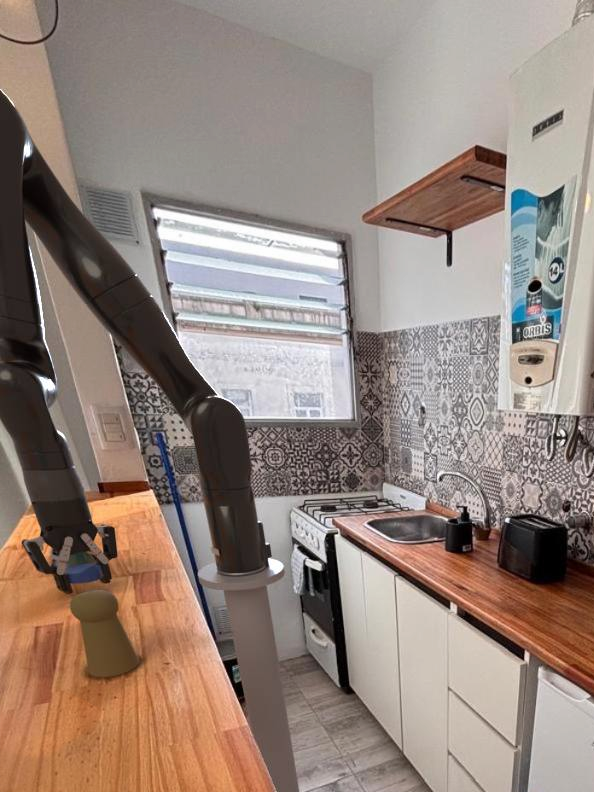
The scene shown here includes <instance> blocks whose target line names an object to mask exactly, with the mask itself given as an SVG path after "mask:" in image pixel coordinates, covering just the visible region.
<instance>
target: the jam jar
mask: <svg viewBox="0 0 594 792" xmlns="http://www.w3.org/2000/svg"><path fill="white" fill-rule="evenodd" d="M84 563H97V562H96V561H95V560H94V559H93V558H92V557H91V556H90V555H89V554H88V553H87V552H78V553H76V554H74V555H69V561H68V562H67V563H66V567H69V566H72V565H77V564H84Z"/></svg>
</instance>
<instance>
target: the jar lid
mask: <svg viewBox="0 0 594 792" xmlns="http://www.w3.org/2000/svg"><path fill="white" fill-rule="evenodd" d="M65 574H67V575H68V578H69V581H70V584H75V585H76V584H86V583H91V582H95V581H98V580H100V578H102V577H103V576H104V573H103V570H102V568H101V565H99V564H95V563H84V564H77V565H72V566H69V567H66V568H65Z"/></svg>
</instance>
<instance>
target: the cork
mask: <svg viewBox="0 0 594 792" xmlns="http://www.w3.org/2000/svg"><path fill="white" fill-rule="evenodd" d="M119 605H120V603H119V600H118V598H117V597H116V596H115V595H114V593H112V592H111V591H108V590H104V589H95V590H88V591H84V592H81V593H78V594H76V595H74V596H73V597H72V598H71V600H70V602H69V609H70V612H71V614H72V615H73V617H74V618H75V619H77V620H78V621H79V622H80V628H81V629H80V630H81V634H82V640H83V648H84V653H85V659H86V665H87V671H88V674H89V675H90V676H92V677H94V678H110V677H114V676H115V677H116V676H120V675H122V674H126V673H128V672H130V671H133V670H135V668H136V667H138V666H139V664H140V658H139V656H138V654H137V652H136V650H135V648H134V646H133V644H132V642H131V639H130V638H129V636H128V634H127V632H126V630H125V628H124V626H123V623H122V622H121V619H120V617H119V615H118V612H119V608H120V607H119Z"/></svg>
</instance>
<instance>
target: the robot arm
mask: <svg viewBox="0 0 594 792" xmlns="http://www.w3.org/2000/svg"><path fill="white" fill-rule="evenodd" d="M26 225H28V226H29V227H30V229H32V232H34V234H35V235H36V237H37V238H38V240H39V241H41V244H42V245H43V247H44V248H45V250H46V252H47V253H48V255H49V256H50V257H51V260H52V261H53V263H55V265H56V267H57V268H58V269H59V271H60V272H61V274H62V275H63V277H64V278H65V279H66V281H67V282H68V284H69V285H70V287H71V288H72V289H73V290H74V292H75V293H76V294H77V296H78V297H79V299H80V300H81V301H82V302H83V304H84V305H86V307H87V308H88V310H89V311H90V312H91V314H93V315H94V317H95V318H96V319H97V320H98V322H99V323H100V324H101V325H102V326H103V328H104V329H105V330H106V331H107V332H108V334H109V335H110V336H111V337H112V338H113V339H114V340H115V341H116V343H117V344H118V345H119V346H120V347H121V348H122V349H123V350H124V351H125V352H126V354H128V356H129V357H130V358H131V359H132V360H133V361H134V362H135V363H136V364H137V365H138V366H139V367H140V368H141V369H142V370H143V371H144V372H145V373H146V374H147V375H148V376H149V378H151V379H152V380H153V382H154V383H155V384H156V385H157V386H158V388H159V389H160V390H161V392H162V393H163V394H164V396H165V397H166V399H167V400H168V401H169V403H170V404H171V406H172V407H173V409H174V410H175V412H176V413H177V414H178V416H179V417H180V419H181V420H182V423H183V424H184V425H185V427H186V429H187V430H188V432H189V433H190V434H191V436H192V439H193V445H194V450H195V455H196V460H197V467H198V468H197V469H198V471H197V476H198V481H199V486H200V490H201V491H200V492H201V496H202V502H203V506H204V510H205V515H206V519H207V520H206V521H207V526H208V530H209V535H210V541H211V546H210V549H211V550H210V551H211V553H212V554H213V556H214V560H215V561H214V562H216V566H217V572H218V573H219V574H220V575H224V576H230V577H239V576H248V575H253V574H257V573H259V572H262V571H263V570H265V568H266V567H269V561H268V558H270V559H271V558H272V557H273V555H272V549H271V548H272V547H271V544H270V543H268V542H266V535H265V531H264V524H263V522H262V521H259V519H258V518H259V517H258V512H257V506H256V499H255V493H254V487H253V481H252V471H253V467H252V466H253V464H252V456H251V449H250V441H249V435H248V429H247V424H246V421H245V417H244V415H243V412H241V410H240V409H239V408H238V406H236V404H234V403H233V402H232V401H231V400H229V399H227V398H224V397H222V396H221V395H220V394H219V393H218V392H217V391H216V390H215V389H214V388H213V386H212V385H211V384H210V383H209V382H208V381H207V380H206V378H205V377H204V376H203V375H202V374H201V372H200V371H199V370H198V369H197V367H196V366H195V364H194V363H193V362H192V360H191V359H190V358H189V355H188V354H187V352H186V351H185V349H184V347H183V345H182V343H181V341H180V340H179V338H178V336H177V334H176V332H175V331H174V328H173V327H172V325H171V323H170V321H169V319H168V318H167V316H166V315H165V313H164V311H163V309H162V308H161V307H160V304H158V302H157V300H156V299H155V298H154V296H153V294H152V293H151V292H150V291H149V289H148V288H147V287H146V285H145V284H144V283H143V281H142V280H141V279H140V277H139V276H138V275H137V273H136V272H135V270H134V269H133V268H132V267H131V266H130V264H129V263H128V262H127V260H126V259H125V258H124V256H122V254H121V253H120V252H119V251H118V250H117V249H116V248H115V246H114V245H113V244H111V242H110V241H109V240H108V239H107V238H106V237H105V235H103V233H101V231H100V230H99V229H98V228H97V227H96V225H94V224H93V223H92V222H91V221H90V220H89V218H88V217H87V216H85V214H84V213H83V212H82V211H81V210H80V208H79V207H78V206H77V204H75V202H74V201H73V199H72V198H71V197H70V195H69V194H68V193H67V191H66V190H65V188H64V187H63V185H62V183H61V182H60V181H59V179H58V178H57V176H56V174H55V173H54V172H53V170H52V168H51V167H50V165H49V164H48V163H47V161H46V160H45V158H44V156H43V155H42V153H41V152H40V149H39V148H38V146H37V145H36V143H35V142H34V140H33V138H32V136H31V134H30V132H29V129H28V127H27V125H26V123H25V121H24V119H23V117H22V115H21V114H20V111H19V110H18V109H17V107H16V105H14V103H13V101H12V100H11V99H10V98H9V97H8V96H7V94H5V93H4V91H3V90H2V89H1V88H0V422H1V424H2V426H3V428H4V429H5V431H6V432H7V433H8V435H9V437H10V439H11V441H12V443H13V448H14V450H15V453H16V456H17V459H18V463H19V465H20V468H21V473H22V476H23V483H24V486H25V489H26V491H27V495H28V498H29V500H30V503H31V506H32V510H33V512H34V515H35V517H36V521H37V523H38V526H39V528H40V532H39V536H36V537H34V538H31V539H26V538H25V539H22V540H21V541H20V542H21V543H20V544H21V545H22V547H23V549H24V550H25V552H26V554H27V556H28V558H29V559H30V561H31V562H32V564H33V567H34V568H35V570H36V572H40V573H42V574H45V575H52V577H53V579H54V582H55V584H56V587H57V589H58V591H60V592H62V593H64V594H66V595H71V594H74V591H73V587H72V583H70V581H69V578H68V575H67V574H65V568H66V563H67V562H68V561H69V555H74V554H76V553H78V552H87V553H88V554H89V555H90V556H91V557H92V558H93V559H94V560H95V561H96V562H97V563H95V564H99V565H101V568H102V570H103V573H104V576H103V577H102V578H100V579H99V582H100V583H102V584H105V585H107V584H110V583H111V580H112V579H113V576H112V571H111V569H110V565H109V562H110V561H111V560H113V559H116V558H118V557H119V554H118V545H117V537H116V529H115V527H114V526H112V525H108V524H101V525H96V524H95V523H94V522H93V517H92V514H91V511H90V506H89V504H88V500H87V497H86V493H85V487H84V486H83V482H82V480H81V478H80V476H79V473H78V470H77V468H76V466H75V463H74V459H73V456H72V453H71V450H70V446H69V443H68V440H67V438H66V437H65V434H63V432H61V431H60V430H58V429H57V428H56V425H55V423H54V420H53V417H52V415H51V412H50V410H49V409H50V408H52V407H53V406H54V404H55V403H56V401H57V399H58V381H57V376H56V371H55V368H54V364H53V360H52V357H51V353H50V351H49V347H48V344H47V341H46V335H45V326H44V325H45V324H44V317H43V308H42V301H41V300H42V299H41V294H40V287H39V282H38V277H37V272H36V268H35V263H34V260H33V254H32V250H31V246H30V242H29V237H28V231H27V226H26ZM97 535H98V536H99V537H100V538H101V545H102V549H101V548H100V547H99V546H98V545H97V544H96V543H95V540H96V537H97ZM44 544H46V545H47V546H49V547H50V548H51V549H50V554H49V558H50V563H49V562H48V561H47V559H46V556H45V555H44V553H43V551H44Z"/></svg>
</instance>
